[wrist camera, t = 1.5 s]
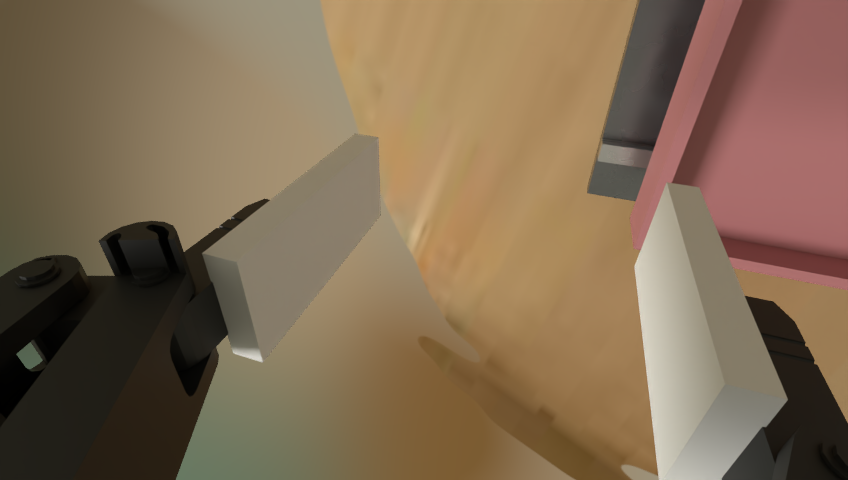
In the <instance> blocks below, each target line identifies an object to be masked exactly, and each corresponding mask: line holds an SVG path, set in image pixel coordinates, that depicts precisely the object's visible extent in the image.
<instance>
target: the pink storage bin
mask: <svg viewBox="0 0 848 480" xmlns="http://www.w3.org/2000/svg"><path fill="white" fill-rule="evenodd" d="M667 182H668V183H674V184H681V185H687V186H694V187H699V188H700V191H701V193H702V195H703V198H704V200H705V203H706V205H707V207H708V210H709V212H710V214H711V217H712V219H713V222H714V224H715V226H716V229H717V231H718V234H719V236H720V238H721V241H722V243H723V246H724V248H725V250H726V253H727V255H728V257H729V260H730V262H731V265H732V267H733V268H736V269H741V270H746V271H751V272H757V273H762V274H767V275H772V276H777V277H783V278H788V279H793V280H798V281H803V282H808V283H814V284H819V285H824V286H829V287H834V288H839V289H845V290H848V0H705V3H704V6H703V9H702V11H701V14H700V17H699V20H698V23H697V26H696V29H695V32H694V35H693V37H692V40H691V43H690V46H689V49H688V52H687V55H686V58H685V61H684V63H683V66H682V69H681V72H680V75H679V78H678V81H677V84H676V87H675V89H674V92H673V95H672V98H671V101H670V104H669V107H668V110H667V113H666V115H665V118H664V121H663V124H662V127H661V130H660V133H659V136H658V139H657V141H656V144H655V147H654V150H653V153H652V156H651V159H650V162H649V165H648V167H647V170H646V173H645V176H644V179H643V182H642V185H641V188H640V191H639V193H638V196H637V199H636V202H635V205H634V208H633V211H632V214H631V217H630V222H631V230H632V239H633V247H634V249H638V250H641V248H642V246H643V243H644V240H645V238H646V235H647V233H648V230H649V227H650V225H651V222H652V219H653V217H654V214H655V212H656V209H657V206H658V204H659V201H660V198H661V196H662V193H663V190H664V188H665V185H666V183H667Z"/></svg>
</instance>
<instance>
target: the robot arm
mask: <svg viewBox="0 0 848 480" xmlns="http://www.w3.org/2000/svg"><path fill="white" fill-rule="evenodd" d="M380 215H381V211H380V175H379V140H378V137H373V136H367V135H360V134H354V135H353V136H352V137H350V138H349V139H348V140H347V141H346V142H344V143H343V144H342V145H340V146H339V147H338V148H337V149H335V150H334V151H333V152H331V153H330V154H329V155H327V156H326V157H325V158H324V159H322V160H321V161H320V162H319V163H317V164H316V165H315V166H313V167H312V168H311V169H310V170H308V171H307V172H306V173H305V174H303V175H302V176H301V177H299V178H298V179H297V180H295V181H294V182H293V183H292V184H290V185H289V186H288V187H286V188H285V189H284V190H283V191H281V192H280V193H279V194H278V195H276V196H275V197H274V198H273V199H271V200H268V199H263V200H261V201H258V202H255V203H253V204H251V205H248V206H246V207H244V208H243V209H242V210H240V211H239V212H238V213H236V214H235V215H234V216H232V217H231V220H230V219H228V220H227V221H225V222H224V223H223V224H221V225H220V228H216V229H215V230H213V231H212V232H211V233H209V234H208V235H207V236H205V237H204V238H203V239H201V240H200V241H199V242H197V243H196V244H195V245H193V246H192V247H190V248H189V249H188V250H186V251H185V252H183V249H182V246H181V243H180V240H179V237H178V234H177V231H176V230H175V228H174V227H173V225H170V224H168V223H165V222H158V221H148V222H138V223H134V224H130V225H127V226H123V227H121V228H119V229H116V230H114V231H112V232H110V233H108V234H107V235H106V236H104V237H103V238H102V239H101V240H99V243H100V245H101V247H102V249H103V251H104V253H105V255H106V258H107V260H108V262H109V264H110V266H111V268H112V270H113V273H114V275H115V276H87V275H86V273H85V271H84V269H83V267H82V265H81V264H80V262H79V261H78V259H77V258H74V257H72V256H68V255H52V256H46V257H40V258H36V259H34V260H32V261H29V262H27V263H24V264H22V265H20V266H18V267H16V268H14V269H12V270H10V271H9V272H7V273H6V274H4V275H3V276H1V277H0V480H176V477H177V474H178V472H179V469H180V466H181V463H182V461H183V458H184V455H185V452H186V450H187V447H188V444H189V442H190V439H191V436H192V433H193V430H194V428H195V425H196V422H197V420H198V416H199V414H200V411H201V408H202V406H203V403H204V400H205V397H206V395H207V392H208V389H209V386H210V384H211V381H212V378H213V375H214V373H215V370H216V367H217V365H218V358H219V354H218V352H217V349H216V346H217V345H218V344H219V343H220V342H221V341H222V340H223V339H224V338H225V337H226V336H227V335H228V338H229V341H230V345H231V348H232V351H233V353H234V354H237V355H240V356H244V357H247V358H250V359H254V360H257V361H260V362H264V360H265V359H266V358H267V357H268V355H269V354H270V353H271V352H272V350H273V349H274V348H275V347H276V345H277V344H278V343H279V342H280V340H281V339H282V338H283V337H284V335H285V334H286V333H287V331H288V330H289V329H290V328H291V327H292V325H293V324H294V323H295V322H296V320H297V319H298V318H299V317H300V315H301V314H302V313H303V312H304V310H305V309H306V308H307V307H308V305H309V304H310V303H311V302H312V300H313V299H314V298H315V297H316V295H317V294H318V293H319V291H320V290H321V289H322V288H323V287H324V285H325V284H326V283H327V282H328V280H329V279H330V278H331V277H332V276H333V274H334V273H335V272H336V271H337V269H338V268H339V266H340V265H341V264H342V263H343V262H344V261H345V259H346V258H347V257H348V255H349V254H350V253H351V252H352V250H353V249H354V248H355V247H356V246H357V244H358V243H359V242H360V241H361V239H362V238H363V237H364V236H365V234H366V233H367V232H368V231H369V229H370V228H371V227H372V226H373V224H374V223H375V222H376V221H377V219H378V218H379V217H380ZM635 275H636V283H637V292H638V301H639V309H640V318H641V327H642V336H643V344H644V353H645V362H646V370H647V379H648V388H649V396H650V405H651V414H652V423H653V431H654V440H655V449H656V457H657V466H658V475H659V480H848V423H847V421H846V419H845V417H844V415H843V413H842V411H841V410H840V408H839V406H838V404H837V402H836V400H835V398H834V396H833V394H832V392H831V390H830V389H829V387H828V385H827V383H826V381H825V379H824V377H823V375H822V373H821V371H820V369H819V367H818V366H817V365H816V364H814V361H815V360H814V358H813V356H812V354H811V352H810V350H809V348H808V347H806V346H805V341H804V339H803V337H802V335H801V333H800V331H799V329H798V327H797V325H796V323H795V322H794V321H793V320H792V319H791V318H790V317H789V316H788V315H787V314H786V313H785V312H784V311H783V310H782V309H781V308H780V307H779V306H777V305H776V304H775V303H774V302H773V301H768V300H763V299H758V298H753V297H748V296H744V293H743V291H742V289H741V286H740V284H739V281H738V279H737V277H736V274H735V272H734V269H733V267H732V265H731V262H730V260H729V257H728V255H727V253H726V250H725V248H724V246H723V243H722V241H721V238H720V236H719V234H718V231H717V229H716V226H715V224H714V222H713V219H712V217H711V214H710V212H709V210H708V207H707V205H706V203H705V200H704V198H703V195H702V193H701V191H700V188H699V187H694V186H687V185H681V184H674V183H668V182H667V183H666V185H665V188H664V190H663V193H662V196H661V198H660V201H659V204H658V206H657V209H656V212H655V214H654V217H653V219H652V222H651V225H650V227H649V230H648V233H647V235H646V238H645V240H644V243H643V246H642V248H641V251H640V254H639V256H638V259H637V262H636V264H635ZM30 342H31V343H32V345H33V346H34V348H35V349H36V351H37V352H38V354H39V355H40V356H41V358H42V359H43V361H42V362H41V363H40V364H38V365H37V366H35V367H33V368H32V369H27V368H26V367H25V366H24V365H23V363H22V362H21V360H20V359H19V358H18V356H17V355H16V354H17V353H18V352H19V351H20V350H21V349H23V348H24V347H25V346H26V345H27V344H28V343H30Z"/></svg>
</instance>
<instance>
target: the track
mask: <svg viewBox="0 0 848 480" xmlns="http://www.w3.org/2000/svg"><path fill="white" fill-rule="evenodd" d="M704 3H705V0H638V1H637V5H636V9H635V12H634V16H633V20H632V24H631V27H630V31H629V35H628V38H627V42H626V46H625V50H624V53H623V57H622V61H621V64H620V68H619V72H618V75H617V79H616V83H615V87H614V90H613V94H612V98H611V101H610V105H609V109H608V113H607V116H606V120H605V124H604V127H603V131H602V135H601V138H600V142H599V146H598V150H597V153H596V157H595V161H594V164H593V168H592V172H591V175H590V179H589V183H588V191H587V193H590V194H596V195H602V196H608V197H614V198H620V199H625V200H631V201H636V199H637V196H638V193H639V191H640V188H641V185H642V182H643V179H644V176H645V173H646V170H647V167H648V165H649V162H650V159H651V156H652V153H653V150H654V147H655V144H656V141H657V139H658V136H659V133H660V130H661V127H662V124H663V121H664V118H665V115H666V113H667V110H668V107H669V104H670V101H671V98H672V95H673V92H674V89H675V87H676V84H677V81H678V78H679V75H680V72H681V69H682V66H683V63H684V61H685V58H686V55H687V52H688V49H689V46H690V43H691V40H692V37H693V35H694V32H695V29H696V26H697V23H698V20H699V17H700V14H701V11H702V9H703V6H704Z"/></svg>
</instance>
